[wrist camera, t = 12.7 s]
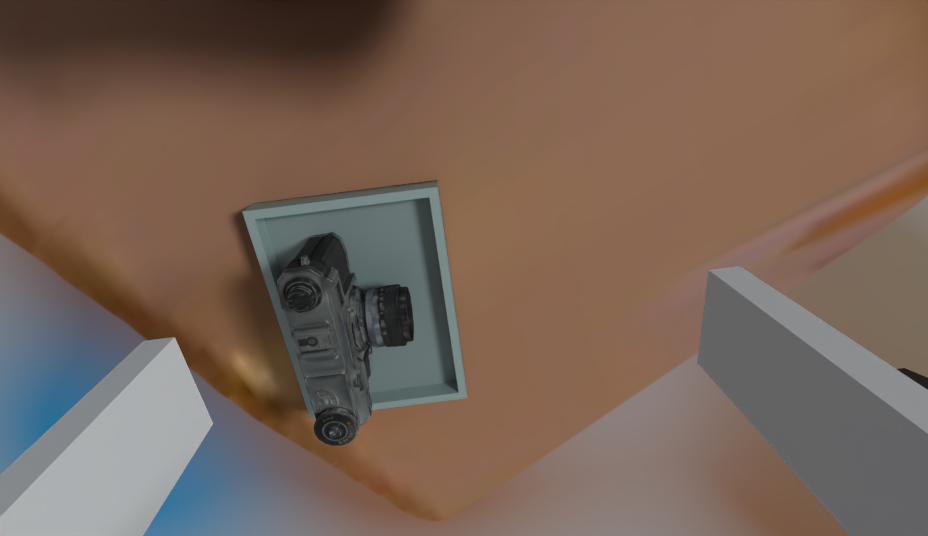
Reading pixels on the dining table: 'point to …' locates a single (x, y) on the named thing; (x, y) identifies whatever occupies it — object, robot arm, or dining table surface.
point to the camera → (339, 333)
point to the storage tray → (377, 279)
